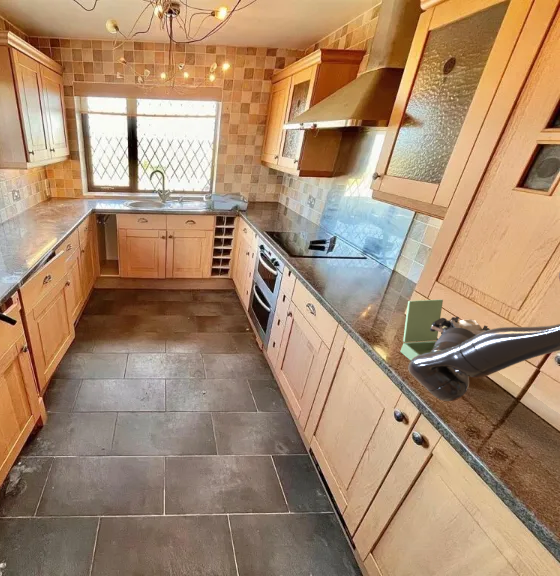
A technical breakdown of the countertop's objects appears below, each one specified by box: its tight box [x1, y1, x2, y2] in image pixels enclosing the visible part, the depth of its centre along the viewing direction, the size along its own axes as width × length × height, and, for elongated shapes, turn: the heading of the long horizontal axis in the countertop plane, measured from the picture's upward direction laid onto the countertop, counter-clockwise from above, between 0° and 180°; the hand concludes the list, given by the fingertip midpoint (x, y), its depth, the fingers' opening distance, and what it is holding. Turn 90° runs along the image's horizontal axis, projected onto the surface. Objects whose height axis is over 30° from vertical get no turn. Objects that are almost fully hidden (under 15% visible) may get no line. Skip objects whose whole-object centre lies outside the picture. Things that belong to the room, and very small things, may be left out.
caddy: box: [400, 340, 437, 361], centre depth 98 cm, size 13×11×4 cm
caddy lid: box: [402, 298, 444, 343], centre depth 103 cm, size 14×11×4 cm
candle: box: [456, 319, 483, 331], centre depth 87 cm, size 6×6×10 cm
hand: (470, 324), depth 88 cm, fingers closed on candle, 5 cm apart
